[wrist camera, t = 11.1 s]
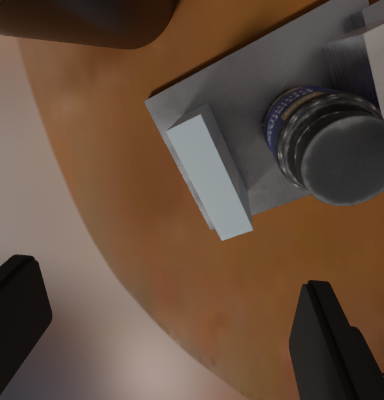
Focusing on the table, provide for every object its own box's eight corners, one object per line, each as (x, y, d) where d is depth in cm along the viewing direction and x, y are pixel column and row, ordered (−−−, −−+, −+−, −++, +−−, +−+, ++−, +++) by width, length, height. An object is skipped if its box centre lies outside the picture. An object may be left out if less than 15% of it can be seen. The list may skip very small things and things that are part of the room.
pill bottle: (287, 71, 22) (337, 71, 12) (354, 105, 22) (455, 132, 12) (249, 141, 25) (263, 189, 15) (309, 170, 25) (363, 236, 15)
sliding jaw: (247, 192, 27) (253, 230, 20) (223, 201, 27) (221, 240, 21) (207, 102, 24) (200, 114, 17) (182, 115, 24) (165, 131, 18)
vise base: (405, 155, 24) (479, 190, 17) (211, 225, 30) (205, 274, 22) (368, -20, 20) (449, -72, 13) (146, 100, 25) (113, 112, 18)
